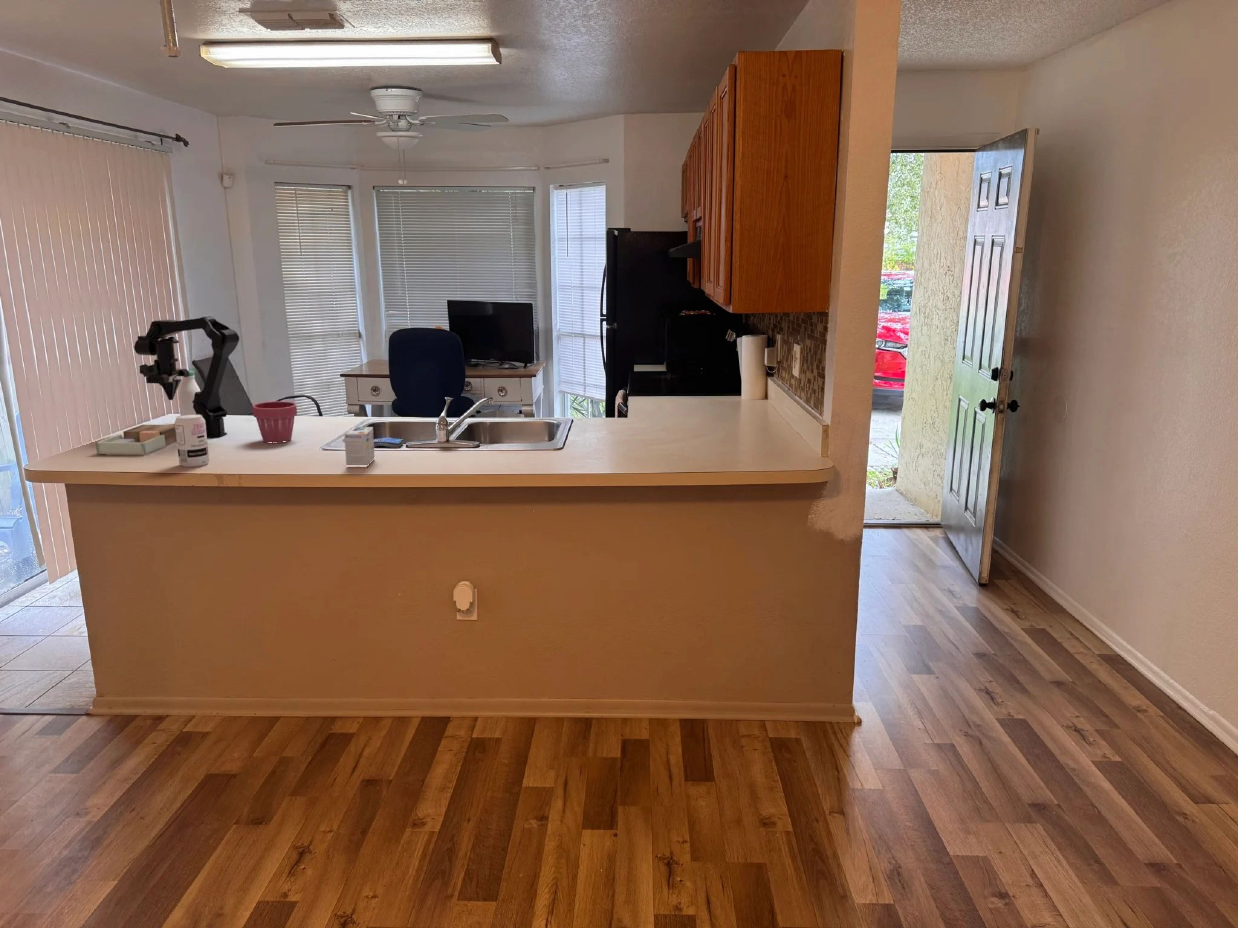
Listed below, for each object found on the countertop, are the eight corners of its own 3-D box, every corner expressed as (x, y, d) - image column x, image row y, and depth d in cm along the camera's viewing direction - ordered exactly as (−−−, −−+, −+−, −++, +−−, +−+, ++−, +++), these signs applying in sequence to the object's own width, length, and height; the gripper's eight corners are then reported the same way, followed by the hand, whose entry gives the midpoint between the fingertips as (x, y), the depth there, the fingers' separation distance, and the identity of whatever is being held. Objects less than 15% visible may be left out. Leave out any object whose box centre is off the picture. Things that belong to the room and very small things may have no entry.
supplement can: (186, 461, 262) (180, 414, 259) (213, 461, 263) (208, 413, 259) (174, 467, 254) (169, 418, 251) (203, 467, 255) (198, 418, 251)
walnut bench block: (181, 439, 293) (180, 425, 292) (164, 446, 282) (162, 431, 280) (144, 438, 293) (142, 424, 292) (125, 446, 281) (123, 431, 280)
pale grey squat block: (126, 442, 271) (128, 451, 272) (134, 438, 276) (135, 447, 277) (110, 442, 271) (112, 451, 272) (118, 439, 276) (119, 447, 277)
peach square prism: (159, 430, 280) (154, 432, 277) (161, 445, 281) (156, 447, 278) (144, 430, 279) (139, 432, 276) (145, 445, 281) (141, 447, 278)
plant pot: (301, 443, 290) (298, 406, 286) (257, 446, 283) (253, 409, 280) (296, 435, 302) (293, 400, 299) (254, 438, 296) (250, 402, 293)
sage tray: (165, 446, 282) (164, 434, 281) (144, 455, 269) (143, 443, 268) (120, 446, 281) (119, 434, 280) (97, 455, 269) (95, 442, 268)
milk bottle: (195, 425, 316) (189, 372, 311) (177, 424, 317) (171, 371, 313) (208, 422, 323) (203, 370, 318) (191, 421, 325) (185, 369, 320)
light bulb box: (353, 460, 267) (351, 426, 264) (375, 459, 268) (373, 426, 265) (345, 468, 257) (343, 433, 254) (368, 468, 257) (366, 433, 255)
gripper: (156, 353, 305) (161, 395, 309) (128, 359, 287) (133, 404, 291) (187, 353, 305) (192, 396, 309) (160, 359, 287) (166, 404, 291)
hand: (170, 400), depth 300 cm, fingers closed
